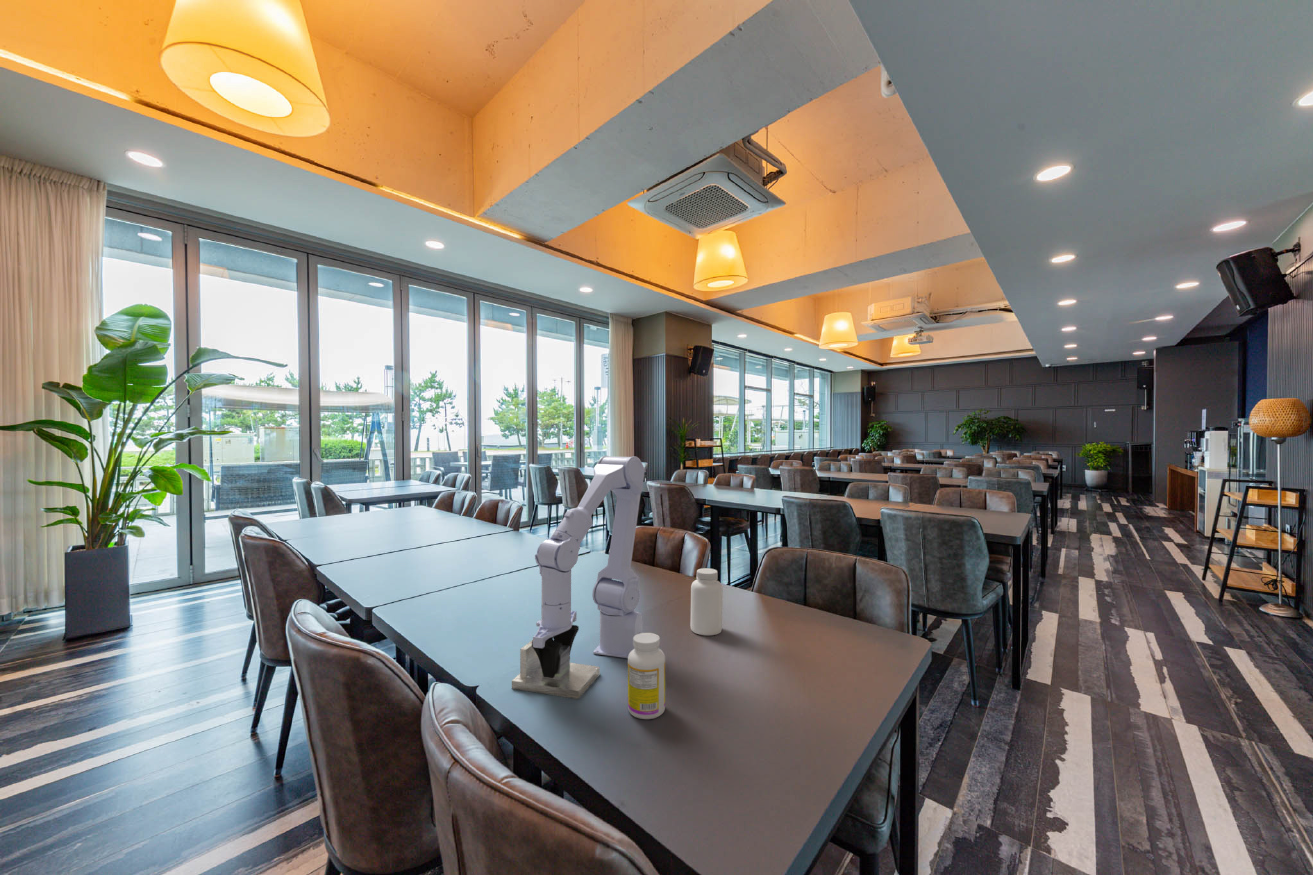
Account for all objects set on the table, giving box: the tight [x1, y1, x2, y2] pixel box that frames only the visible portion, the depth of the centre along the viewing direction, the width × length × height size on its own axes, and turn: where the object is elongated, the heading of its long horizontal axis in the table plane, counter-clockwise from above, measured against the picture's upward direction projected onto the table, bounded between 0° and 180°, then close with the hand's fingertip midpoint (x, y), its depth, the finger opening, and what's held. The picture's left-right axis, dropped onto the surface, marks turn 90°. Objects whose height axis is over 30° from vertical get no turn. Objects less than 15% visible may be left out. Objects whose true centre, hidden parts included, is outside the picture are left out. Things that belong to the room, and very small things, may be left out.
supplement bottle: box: [627, 632, 666, 720], centre depth 85 cm, size 7×7×13 cm
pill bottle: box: [689, 567, 724, 636], centre depth 122 cm, size 8×8×15 cm
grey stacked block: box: [541, 645, 571, 681], centre depth 95 cm, size 4×4×5 cm
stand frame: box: [511, 639, 601, 700], centre depth 96 cm, size 14×10×7 cm
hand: (555, 669), depth 95 cm, fingers open, 5 cm apart
